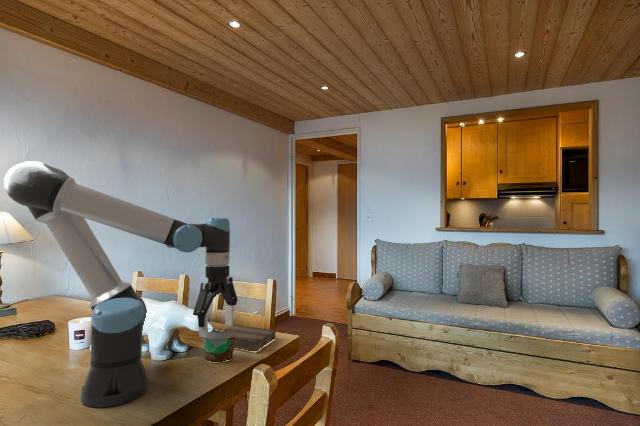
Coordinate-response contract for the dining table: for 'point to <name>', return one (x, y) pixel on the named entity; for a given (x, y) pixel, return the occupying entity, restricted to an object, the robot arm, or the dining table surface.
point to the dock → (251, 337)
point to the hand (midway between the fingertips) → (216, 330)
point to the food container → (219, 345)
